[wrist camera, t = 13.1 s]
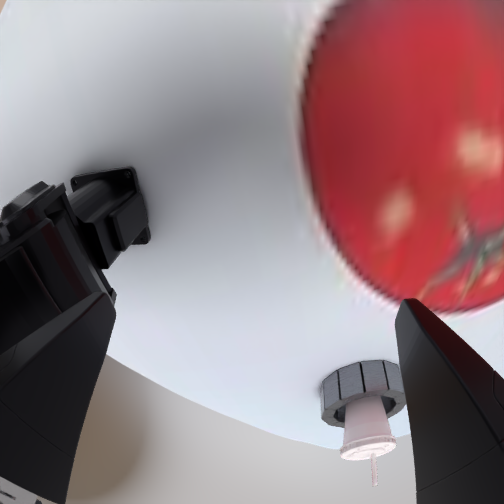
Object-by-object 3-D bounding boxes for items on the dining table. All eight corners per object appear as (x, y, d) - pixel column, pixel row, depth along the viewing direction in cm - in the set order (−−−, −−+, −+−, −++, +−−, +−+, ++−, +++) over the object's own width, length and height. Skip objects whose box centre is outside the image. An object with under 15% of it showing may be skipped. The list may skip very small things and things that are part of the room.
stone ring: (316, 404, 35) (317, 429, 31) (327, 363, 29) (329, 393, 26) (387, 399, 34) (391, 422, 30) (411, 356, 28) (419, 384, 25)
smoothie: (369, 396, 33) (379, 489, 21) (328, 393, 33) (330, 493, 21) (394, 371, 30) (412, 475, 18) (349, 367, 30) (360, 482, 18)
